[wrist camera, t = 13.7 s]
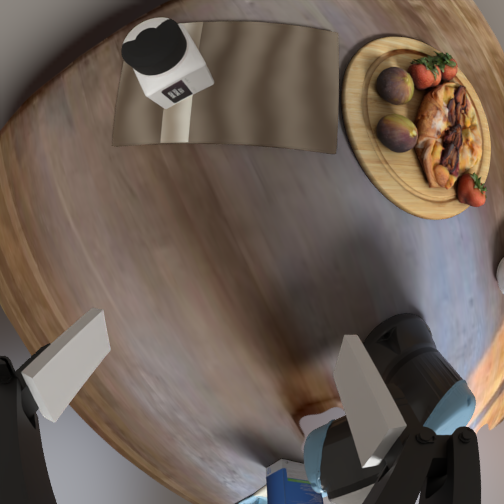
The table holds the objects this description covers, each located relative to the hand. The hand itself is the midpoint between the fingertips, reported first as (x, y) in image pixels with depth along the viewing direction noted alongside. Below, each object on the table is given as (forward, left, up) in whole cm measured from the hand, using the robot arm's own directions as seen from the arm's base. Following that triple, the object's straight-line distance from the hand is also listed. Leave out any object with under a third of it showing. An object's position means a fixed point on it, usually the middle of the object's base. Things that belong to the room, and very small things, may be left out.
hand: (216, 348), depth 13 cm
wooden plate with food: (-29, -21, -27) cm, 45 cm away
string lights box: (-17, +63, -27) cm, 71 cm away
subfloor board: (+4, -23, -27) cm, 35 cm away
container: (+10, -23, -25) cm, 35 cm away
